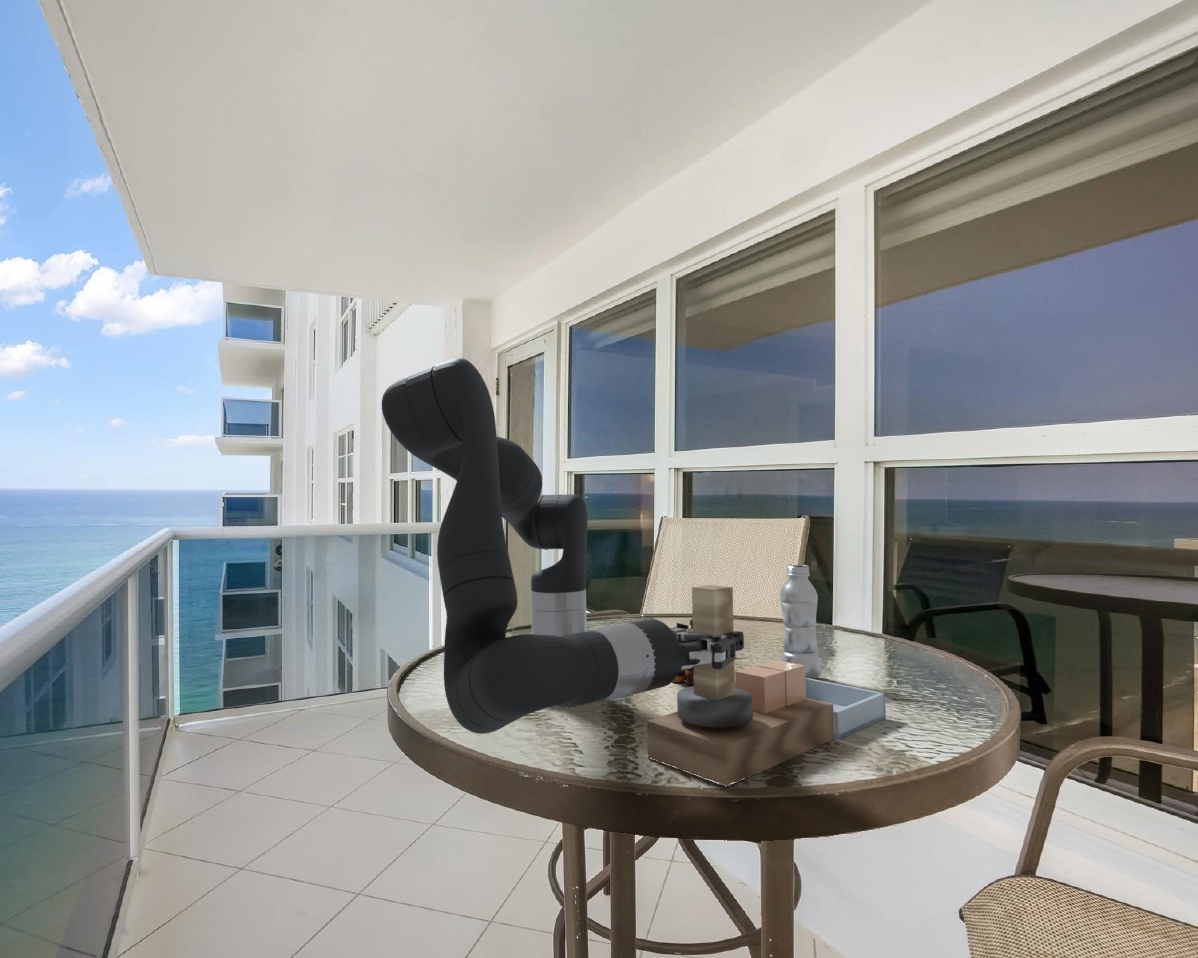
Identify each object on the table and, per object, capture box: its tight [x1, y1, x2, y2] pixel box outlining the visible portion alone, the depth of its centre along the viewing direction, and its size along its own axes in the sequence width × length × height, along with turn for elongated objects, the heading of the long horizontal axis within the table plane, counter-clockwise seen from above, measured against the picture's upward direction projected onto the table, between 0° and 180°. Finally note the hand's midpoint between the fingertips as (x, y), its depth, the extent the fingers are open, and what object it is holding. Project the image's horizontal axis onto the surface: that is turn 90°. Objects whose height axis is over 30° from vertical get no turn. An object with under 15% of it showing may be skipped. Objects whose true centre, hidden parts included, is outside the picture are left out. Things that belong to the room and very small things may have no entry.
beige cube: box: [756, 659, 806, 706], centre depth 90 cm, size 4×4×4 cm
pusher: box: [676, 584, 753, 727], centre depth 81 cm, size 9×9×16 cm
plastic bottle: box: [779, 564, 822, 679], centre depth 119 cm, size 6×7×20 cm
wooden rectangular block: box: [646, 698, 835, 785], centre depth 84 cm, size 22×12×4 cm, turn 131°
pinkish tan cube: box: [734, 665, 786, 714], centre depth 87 cm, size 4×4×4 cm
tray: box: [805, 678, 887, 740], centre depth 96 cm, size 13×13×4 cm
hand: (727, 637), depth 83 cm, fingers closed on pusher, 3 cm apart
